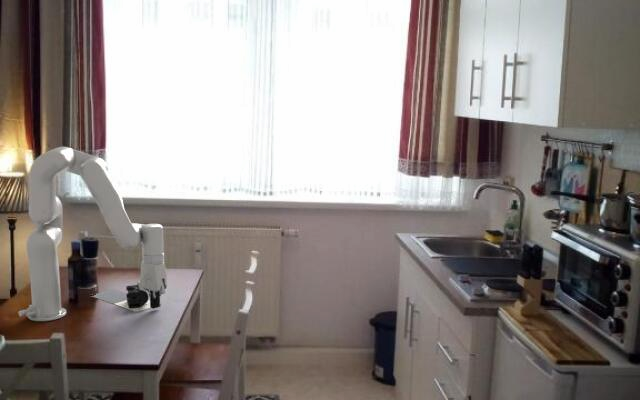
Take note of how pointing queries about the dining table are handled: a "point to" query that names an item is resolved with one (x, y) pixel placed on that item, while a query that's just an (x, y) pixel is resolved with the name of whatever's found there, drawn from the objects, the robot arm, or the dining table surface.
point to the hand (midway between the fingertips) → (155, 307)
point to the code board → (125, 305)
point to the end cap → (136, 296)
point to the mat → (112, 296)
